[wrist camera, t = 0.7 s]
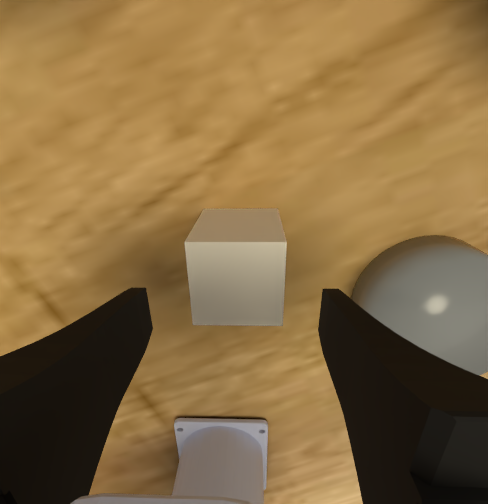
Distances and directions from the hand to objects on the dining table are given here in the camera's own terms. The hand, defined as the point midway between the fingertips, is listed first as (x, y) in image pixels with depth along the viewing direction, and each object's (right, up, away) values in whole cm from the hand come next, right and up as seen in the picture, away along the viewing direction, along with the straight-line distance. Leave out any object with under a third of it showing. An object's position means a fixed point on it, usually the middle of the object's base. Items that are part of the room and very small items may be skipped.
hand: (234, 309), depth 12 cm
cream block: (0, +3, +7) cm, 7 cm away
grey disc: (+12, -1, +8) cm, 15 cm away
